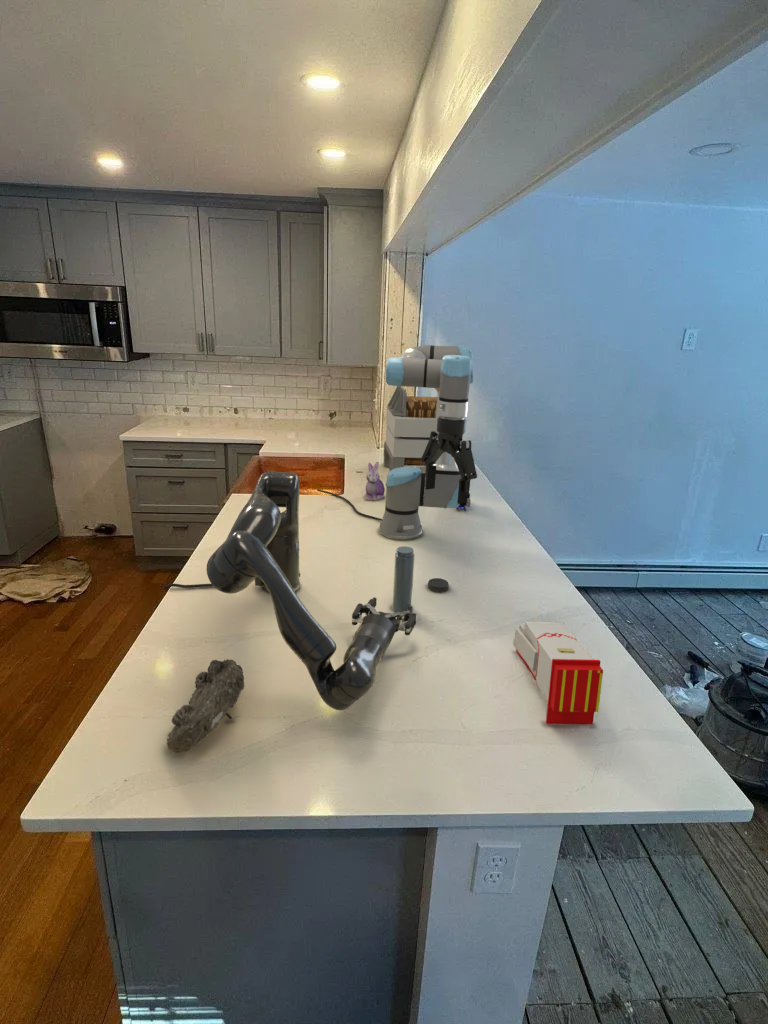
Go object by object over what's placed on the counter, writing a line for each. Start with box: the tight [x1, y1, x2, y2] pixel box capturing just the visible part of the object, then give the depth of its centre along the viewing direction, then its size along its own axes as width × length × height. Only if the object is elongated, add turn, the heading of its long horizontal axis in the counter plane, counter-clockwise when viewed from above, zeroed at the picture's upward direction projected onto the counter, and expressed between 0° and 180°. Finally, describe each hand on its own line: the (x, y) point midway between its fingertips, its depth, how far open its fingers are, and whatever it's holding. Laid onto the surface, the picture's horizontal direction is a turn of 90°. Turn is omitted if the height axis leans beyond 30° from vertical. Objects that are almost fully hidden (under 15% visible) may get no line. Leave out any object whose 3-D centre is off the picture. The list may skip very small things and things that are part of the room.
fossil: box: [166, 658, 245, 754], centre depth 106 cm, size 22×10×15 cm
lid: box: [427, 577, 450, 593], centre depth 162 cm, size 6×6×2 cm
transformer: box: [383, 386, 464, 472], centre depth 268 cm, size 34×33×41 cm
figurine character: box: [456, 491, 471, 512], centre depth 229 cm, size 7×8×15 cm
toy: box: [512, 621, 604, 726], centre depth 121 cm, size 12×13×30 cm
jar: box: [391, 545, 416, 613], centre depth 147 cm, size 5×5×17 cm
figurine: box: [364, 461, 386, 501], centre depth 234 cm, size 9×10×15 cm
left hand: (392, 603), depth 137 cm, fingers open, 8 cm apart
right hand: (445, 495), depth 153 cm, fingers open, 13 cm apart
